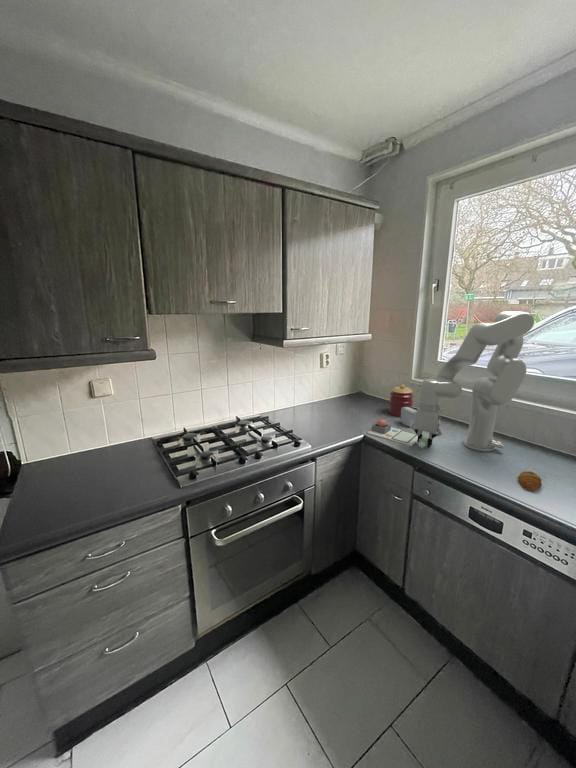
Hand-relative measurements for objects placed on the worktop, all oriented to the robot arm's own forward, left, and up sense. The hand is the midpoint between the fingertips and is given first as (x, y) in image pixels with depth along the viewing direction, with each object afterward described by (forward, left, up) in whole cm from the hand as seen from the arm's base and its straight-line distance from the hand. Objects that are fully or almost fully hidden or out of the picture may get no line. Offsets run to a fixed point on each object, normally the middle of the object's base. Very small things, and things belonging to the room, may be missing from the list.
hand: (424, 444), depth 145 cm
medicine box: (+15, -20, -1) cm, 25 cm away
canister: (+25, -34, -1) cm, 42 cm away
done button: (+22, -2, +3) cm, 22 cm away
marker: (0, -1, 0) cm, 1 cm away
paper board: (+15, -2, 0) cm, 15 cm away
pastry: (-40, +9, -1) cm, 41 cm away
